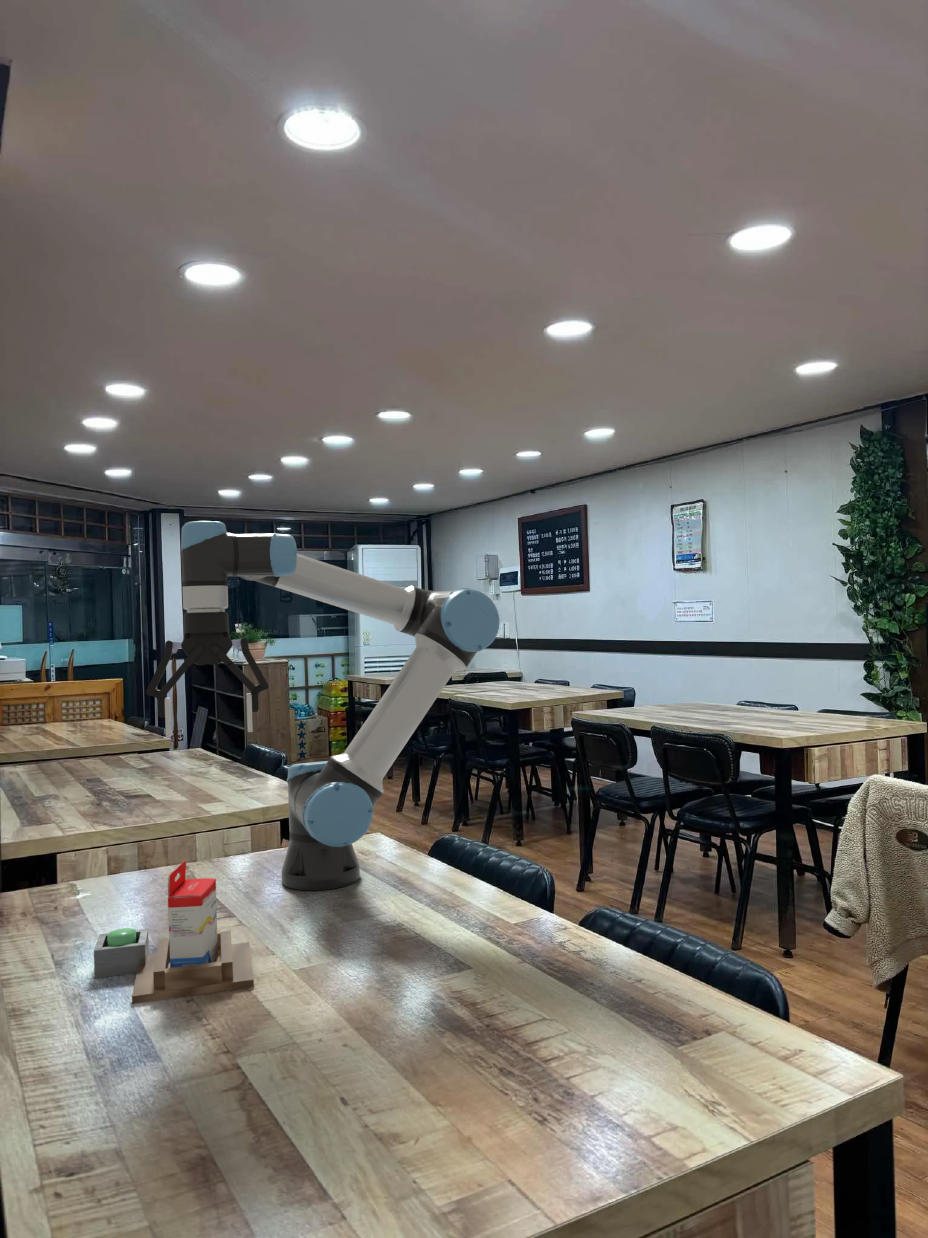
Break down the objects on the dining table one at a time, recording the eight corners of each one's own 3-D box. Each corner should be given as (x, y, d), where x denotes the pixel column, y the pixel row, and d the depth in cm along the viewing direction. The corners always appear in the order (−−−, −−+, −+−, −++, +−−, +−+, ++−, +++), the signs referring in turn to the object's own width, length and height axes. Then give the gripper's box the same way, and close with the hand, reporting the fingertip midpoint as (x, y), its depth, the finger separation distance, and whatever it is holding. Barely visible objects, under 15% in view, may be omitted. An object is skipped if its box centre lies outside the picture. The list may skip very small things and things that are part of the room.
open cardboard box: (249, 948, 139) (248, 926, 139) (253, 986, 124) (253, 962, 124) (140, 962, 134) (139, 939, 134) (132, 1003, 120) (131, 978, 120)
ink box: (204, 978, 125) (201, 874, 125) (169, 980, 125) (165, 876, 125) (219, 955, 134) (216, 858, 133) (186, 956, 133) (183, 859, 133)
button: (137, 945, 136) (136, 927, 136) (135, 954, 132) (134, 936, 132) (109, 948, 134) (108, 930, 134) (106, 958, 131) (105, 939, 131)
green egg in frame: (148, 954, 137) (148, 928, 137) (145, 971, 131) (144, 944, 131) (100, 960, 136) (99, 934, 135) (94, 978, 129) (93, 951, 129)
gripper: (277, 609, 161) (281, 726, 161) (131, 613, 154) (135, 735, 154) (280, 609, 153) (284, 731, 154) (127, 613, 147) (131, 741, 147)
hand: (209, 734), depth 154 cm, fingers open, 13 cm apart
